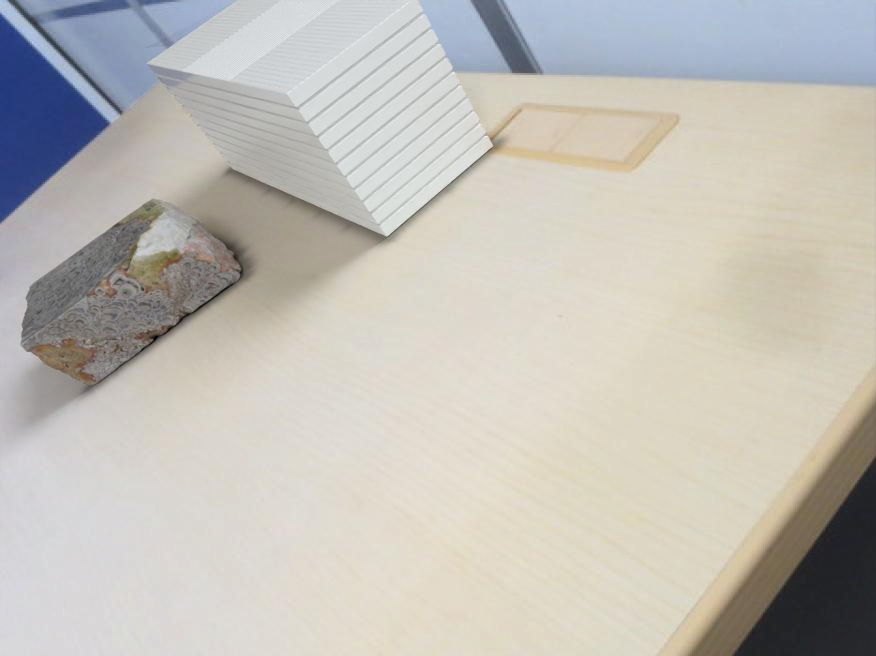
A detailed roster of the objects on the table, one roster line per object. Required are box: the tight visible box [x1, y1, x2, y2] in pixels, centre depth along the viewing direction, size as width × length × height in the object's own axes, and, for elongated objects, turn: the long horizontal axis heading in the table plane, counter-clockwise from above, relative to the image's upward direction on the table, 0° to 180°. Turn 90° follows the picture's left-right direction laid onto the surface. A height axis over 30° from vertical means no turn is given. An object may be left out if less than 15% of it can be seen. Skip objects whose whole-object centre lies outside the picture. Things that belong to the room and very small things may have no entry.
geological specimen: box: [20, 198, 242, 386], centre depth 58 cm, size 11×6×15 cm
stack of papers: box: [146, 0, 494, 238], centre depth 60 cm, size 32×11×11 cm, turn 45°
